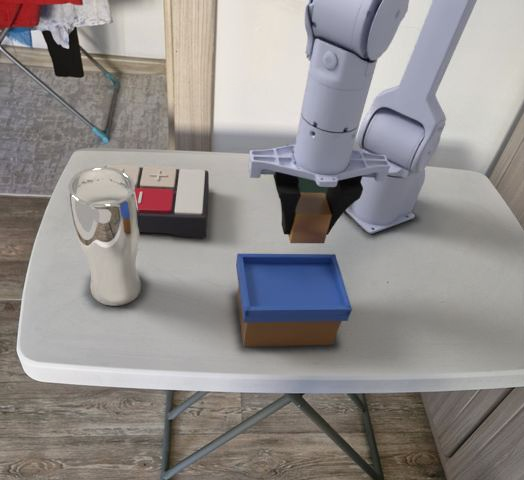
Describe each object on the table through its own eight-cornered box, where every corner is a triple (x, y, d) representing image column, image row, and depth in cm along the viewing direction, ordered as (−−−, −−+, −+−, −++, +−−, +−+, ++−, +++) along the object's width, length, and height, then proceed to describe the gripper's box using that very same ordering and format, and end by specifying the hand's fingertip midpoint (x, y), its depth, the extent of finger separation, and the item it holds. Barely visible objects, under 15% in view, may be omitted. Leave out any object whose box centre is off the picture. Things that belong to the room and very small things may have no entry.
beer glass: (143, 268, 68) (136, 165, 56) (145, 307, 64) (137, 206, 52) (87, 269, 67) (67, 165, 55) (86, 310, 63) (64, 207, 51)
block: (317, 221, 63) (324, 192, 60) (324, 243, 60) (331, 215, 57) (284, 220, 62) (290, 192, 59) (290, 243, 60) (296, 214, 57)
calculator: (103, 160, 75) (208, 165, 76) (108, 186, 79) (209, 190, 80) (89, 208, 68) (205, 213, 70) (95, 234, 72) (206, 238, 73)
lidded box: (323, 294, 69) (335, 254, 64) (337, 347, 64) (352, 309, 58) (232, 294, 67) (237, 253, 62) (239, 350, 62) (245, 310, 56)
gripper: (261, 136, 47) (246, 252, 57) (414, 143, 49) (372, 252, 60) (251, 96, 51) (239, 211, 61) (393, 104, 53) (358, 213, 64)
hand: (304, 229), depth 61 cm, fingers closed on block, 4 cm apart
